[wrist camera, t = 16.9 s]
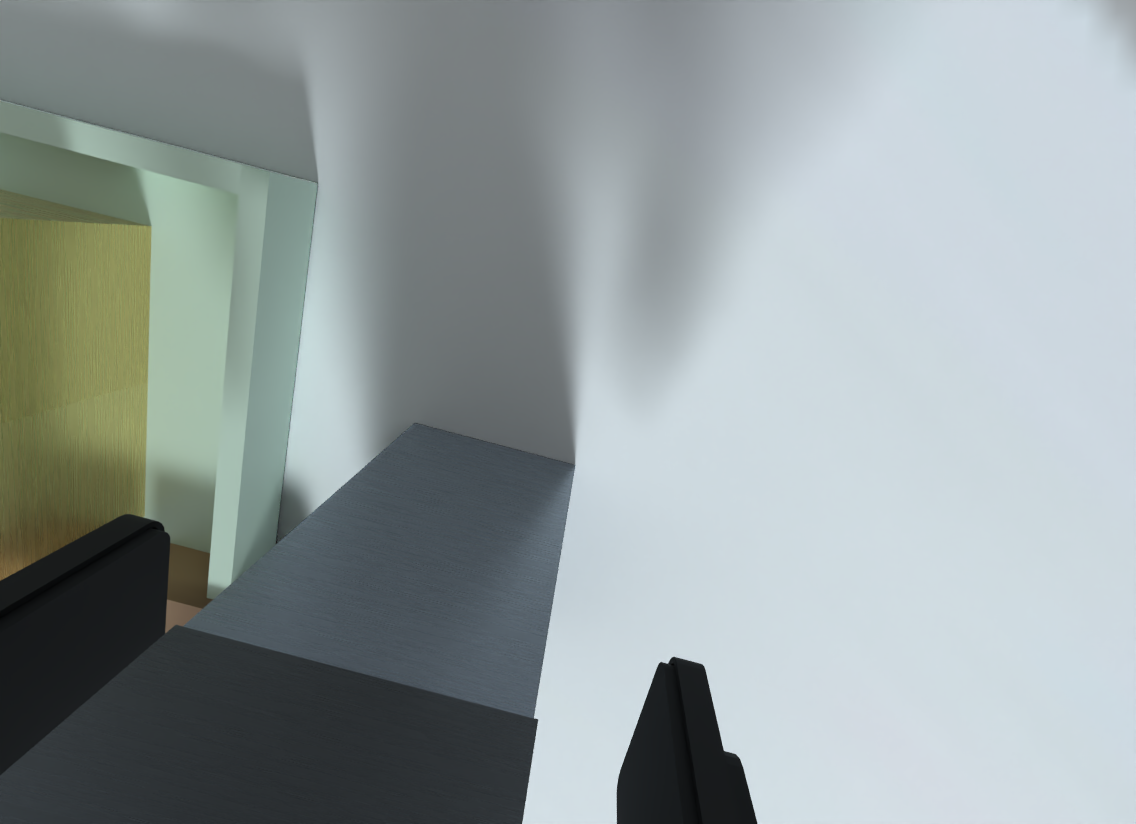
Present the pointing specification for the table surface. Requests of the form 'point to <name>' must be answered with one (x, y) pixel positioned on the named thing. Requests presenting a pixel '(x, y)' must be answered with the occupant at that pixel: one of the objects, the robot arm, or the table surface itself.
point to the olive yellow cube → (70, 473)
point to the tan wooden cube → (69, 304)
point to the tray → (195, 316)
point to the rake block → (339, 665)
